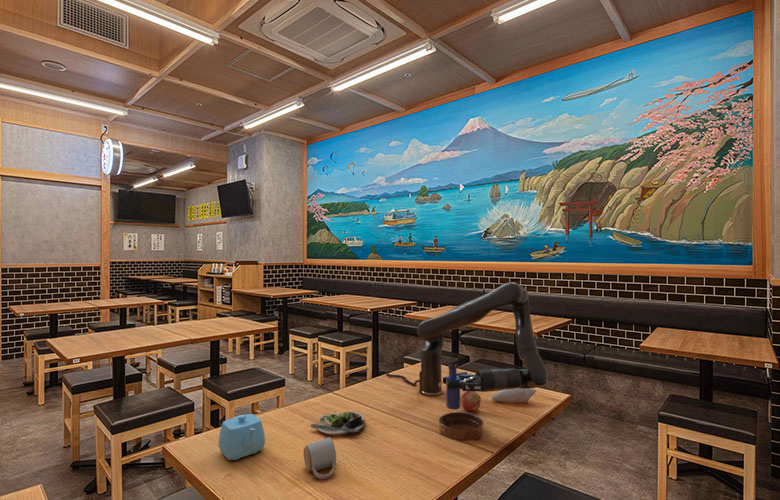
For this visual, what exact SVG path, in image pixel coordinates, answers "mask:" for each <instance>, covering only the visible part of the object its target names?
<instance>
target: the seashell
mask: <svg viewBox="0 0 780 500" xmlns="http://www.w3.org/2000/svg"><path fill="white" fill-rule="evenodd" d="M536 393H537V389H535V388H530V389H523V388H516V389H505V390H501V391H497V392H496V393H494V394H492V395H491V400H492V401H495V402H502V403H512V404H513V403H515V404H516V403H517V404H519V403H527V402H528V401H530V399H531V398H532V397H533V395H534V394H536Z"/></svg>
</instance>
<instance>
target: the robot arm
mask: <svg viewBox="0 0 780 500" xmlns="http://www.w3.org/2000/svg"><path fill="white" fill-rule="evenodd" d="M529 299H530V298H529V293H528V290H527V289H526V288H525V287H524V286H522V285H521V284H519V283H517V282H514V281H508V282H505V283H503V284H501V285H499V286H498V287H496V288H494V289H493V290H491V291H489V292H487V293H486V294H482V295H481V296H478V297H476V298H474V299H470V300H468V301H465V302H463V303H462V304H459V305H457V306H455V307H453V308H451V309H450V310H448V311H446V312H444V313H443V314H441V315H439V316H436V317H432V318H427V319H425V320H422V321H421V322H419V324H418V326H417V327H416V333H417V336H418V337H419V338H420V339H421V340H422V341H424V343H423V345H422V347H421V348H420V371H419V379H418V380H417V379H416V380H415V381H414V382H411V381H410V380H409V379H407V378H406V377H405V376H403V375H400V374H391V373H389V372H388V371H387V370H383V371H382V372H381V373H382V374H384V373H385V374H386V375H387V376H389V377H393V378H401V379H403V380H404V381H405V382H406V383H407V384H409V385H411V386H417V384H419V393H420V394H423V395H425V396H429V397H430V396H431V397H434V396H440V395H442V393H443V387H442V386H443V384H444V385H446V377H447V376H443V377H442V350H443V347H444V334H445V333H447V332H450V331H454V330H457V329H462V328H465V327H468V326H470V325H473V324H477V322H480V321H482V320H483V319H484V318H485V317H486V316H488V314H489V313H491V312H492V311H494V310H497V309H500V308H503V307H506V306H507V307H508V306H509V307H510V308H511V310H512V313H513V316H514V320H515V329H514V330H515V331H514V336H515V337H514V338H515V343H516V344H515V345H516V348H517V353H518V356H519V359H520V360H521V361H523V362H525V365H526V368H522V369H516V368H512V367H511V368H485V369H482V368H481V369H477V370H476V372H475V374H472V373H468V372H467V371H464V372H463V371H462V372H457V377H459V378H460V381H459V383H458V381H457V382H448V383H447V387H448V389H460V391H461V390H462V392H467V391H475V392H477V393H479V392H481V393H488V392H499V391H501V390H505V389H516V388H523V389H530V388H532V389H536V388H540V387H544V386H545V385H546V384H547V383H548V380H549V374H548V370H547V368H546V365H545V363H544V361H543V359H542V357H541V356H540V354H539V353H540V352H539V348H538V346H537V342H536V337H535V334H534V333H535V332H534V330H533V324H532V317H531V310H530V300H529Z"/></svg>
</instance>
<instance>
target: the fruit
mask: <svg viewBox="0 0 780 500" xmlns="http://www.w3.org/2000/svg"><path fill="white" fill-rule="evenodd" d="M481 398H482V397H481V395H480V394H479V392H478V391H464V392H463V394H462V395H461V396H460V406H461V407H462V408H463V409H464V410H466V411H467V412H469V413H474V412H477V411H478V410H479V409H480V407H481V401H482V399H481Z"/></svg>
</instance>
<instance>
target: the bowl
mask: <svg viewBox="0 0 780 500" xmlns="http://www.w3.org/2000/svg"><path fill="white" fill-rule="evenodd" d="M438 421H439V422H438V431H439V432H440V434H441V435H443V436H444V437H446V438H449V439H451V440H455V441H464V442H465V441H473V440H478V439H479V438H481V437H483V435H484V434H485V429H484V428H485V427H484V420H483V419H482V418H481V417H480V416H478V415H475V414H473V413H471V412H463V411H456V412H455V411H454V412H448V413H444V414H442V415H441V416H440V417H439V420H438Z"/></svg>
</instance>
